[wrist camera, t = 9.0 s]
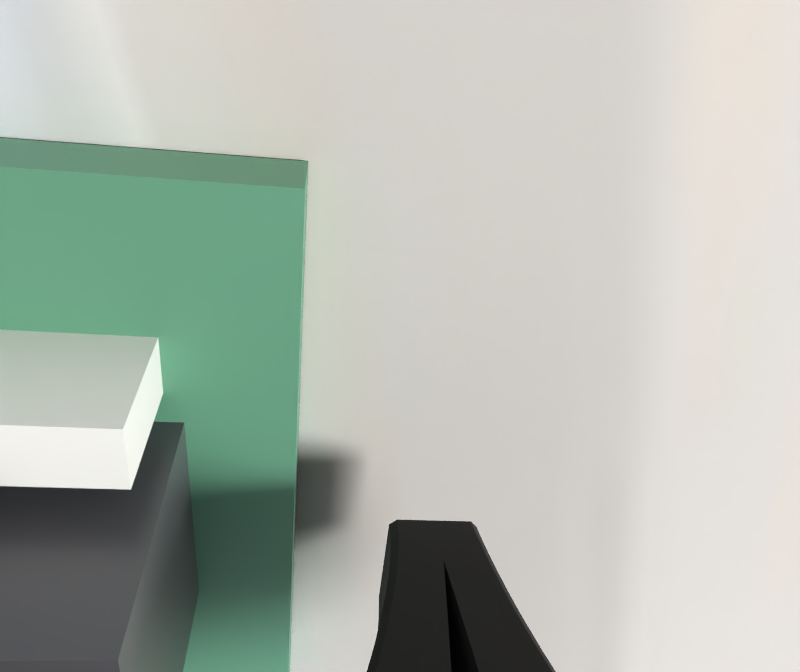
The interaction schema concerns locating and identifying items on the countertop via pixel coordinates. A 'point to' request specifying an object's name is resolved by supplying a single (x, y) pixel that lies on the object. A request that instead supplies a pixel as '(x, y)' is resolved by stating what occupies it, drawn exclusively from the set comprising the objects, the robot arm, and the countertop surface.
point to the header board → (163, 354)
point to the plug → (101, 570)
